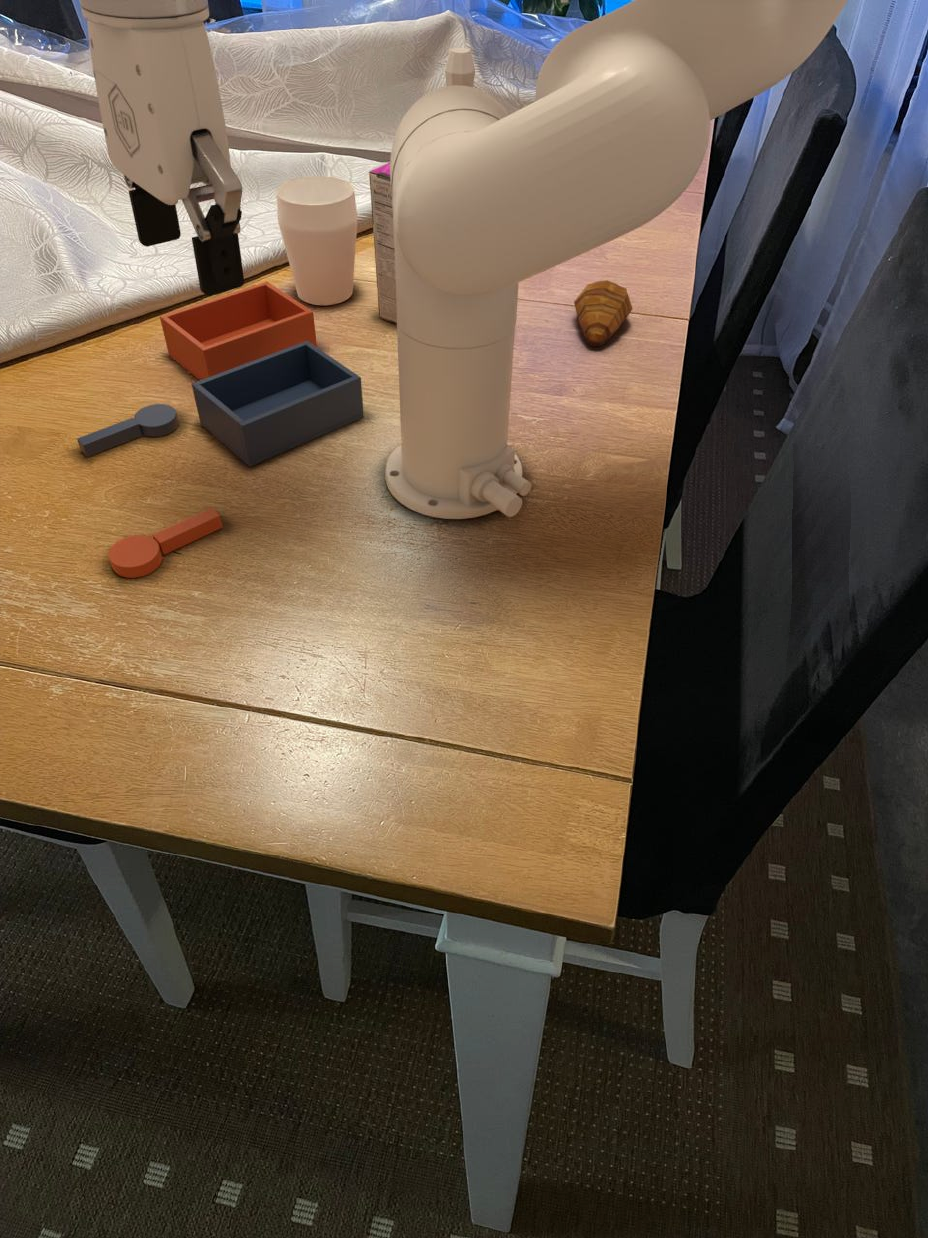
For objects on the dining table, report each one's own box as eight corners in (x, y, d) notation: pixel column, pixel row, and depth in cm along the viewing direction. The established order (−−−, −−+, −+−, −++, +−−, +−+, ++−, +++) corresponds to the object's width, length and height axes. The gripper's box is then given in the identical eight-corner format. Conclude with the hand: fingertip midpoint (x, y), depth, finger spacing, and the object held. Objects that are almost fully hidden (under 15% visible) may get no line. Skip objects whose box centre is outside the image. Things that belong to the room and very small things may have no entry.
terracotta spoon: (207, 512, 77) (204, 499, 76) (230, 535, 75) (227, 522, 74) (103, 559, 72) (99, 546, 71) (126, 585, 70) (121, 572, 69)
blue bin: (363, 417, 88) (361, 377, 85) (249, 467, 82) (242, 425, 78) (311, 379, 93) (307, 340, 89) (200, 424, 86) (191, 383, 83)
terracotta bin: (317, 349, 97) (313, 311, 94) (211, 390, 91) (203, 350, 88) (272, 318, 102) (266, 281, 98) (168, 355, 96) (159, 316, 92)
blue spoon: (93, 463, 82) (89, 451, 81) (75, 444, 84) (70, 432, 83) (186, 427, 86) (183, 414, 85) (166, 409, 88) (163, 397, 87)
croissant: (625, 354, 98) (632, 312, 94) (565, 347, 99) (569, 305, 95) (633, 300, 107) (640, 259, 103) (578, 293, 108) (583, 253, 104)
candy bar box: (434, 284, 109) (434, 140, 97) (466, 296, 107) (470, 150, 95) (375, 317, 102) (366, 168, 91) (408, 331, 100) (403, 179, 89)
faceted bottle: (452, 226, 121) (454, 40, 105) (490, 237, 119) (498, 49, 103) (424, 241, 118) (422, 50, 102) (463, 253, 115) (466, 60, 99)
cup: (331, 318, 102) (321, 212, 93) (272, 297, 105) (257, 193, 97) (377, 289, 107) (371, 186, 99) (319, 270, 111) (309, 169, 102)
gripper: (25, -37, 56) (93, 235, 68) (147, 25, 47) (200, 325, 59) (137, -45, 59) (183, 215, 72) (270, 10, 50) (296, 296, 63)
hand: (190, 264), depth 65 cm, fingers open, 9 cm apart
